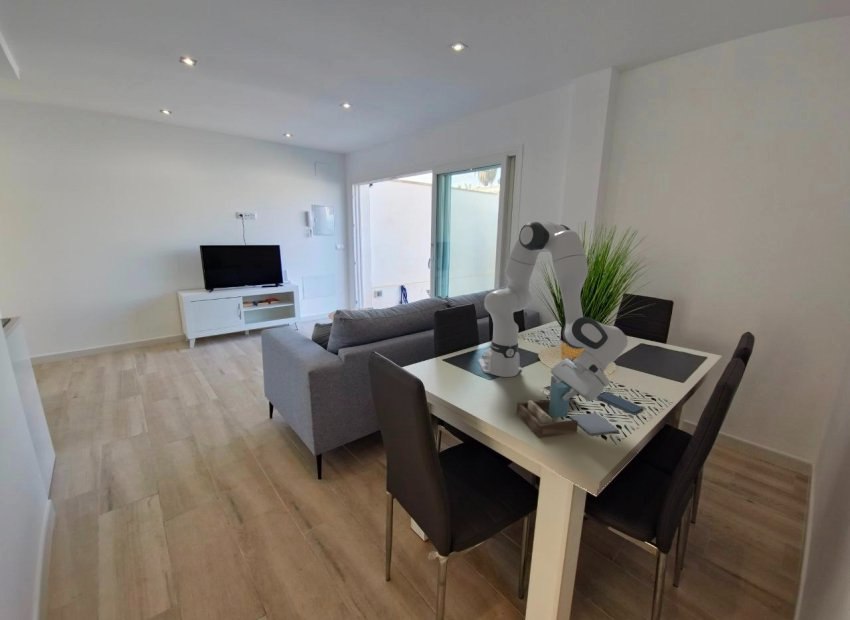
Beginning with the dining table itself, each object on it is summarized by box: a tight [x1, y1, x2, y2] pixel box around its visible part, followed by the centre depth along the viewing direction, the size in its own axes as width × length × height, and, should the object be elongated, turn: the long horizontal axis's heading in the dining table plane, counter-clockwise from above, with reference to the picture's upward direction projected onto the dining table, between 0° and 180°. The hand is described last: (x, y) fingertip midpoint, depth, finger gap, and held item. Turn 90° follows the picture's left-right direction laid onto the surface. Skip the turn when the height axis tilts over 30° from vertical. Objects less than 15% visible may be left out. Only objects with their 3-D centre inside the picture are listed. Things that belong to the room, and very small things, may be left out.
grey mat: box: [568, 412, 620, 436], centre depth 119 cm, size 11×11×1 cm
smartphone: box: [596, 391, 644, 415], centre depth 134 cm, size 8×2×15 cm
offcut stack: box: [527, 399, 552, 424], centre depth 118 cm, size 9×4×6 cm, turn 13°
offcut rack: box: [515, 399, 579, 438], centre depth 119 cm, size 15×14×4 cm
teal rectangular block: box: [547, 382, 571, 419], centre depth 119 cm, size 4×5×11 cm
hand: (558, 395), depth 118 cm, fingers closed on teal rectangular block, 3 cm apart
